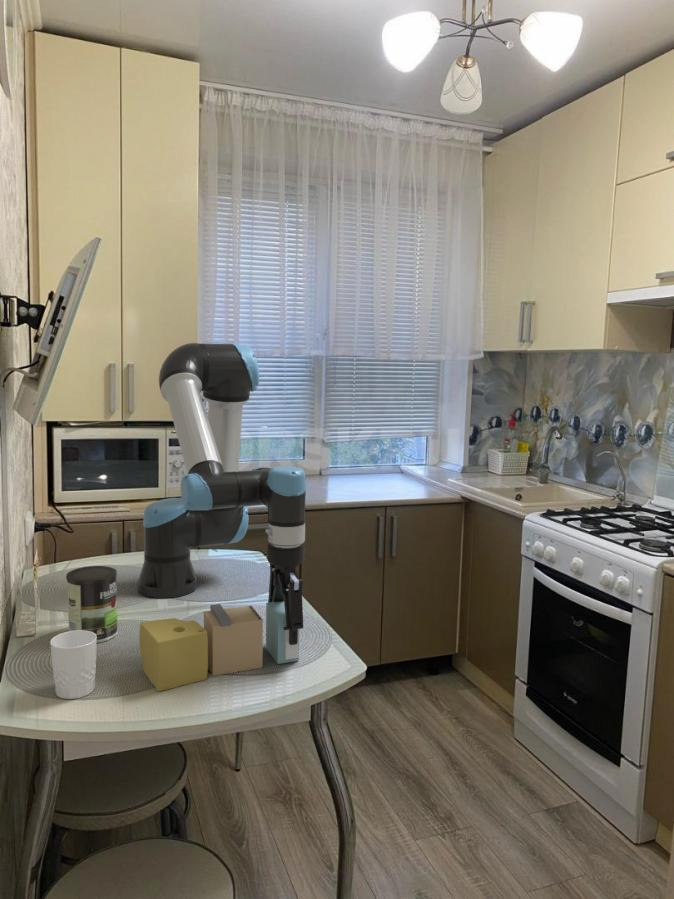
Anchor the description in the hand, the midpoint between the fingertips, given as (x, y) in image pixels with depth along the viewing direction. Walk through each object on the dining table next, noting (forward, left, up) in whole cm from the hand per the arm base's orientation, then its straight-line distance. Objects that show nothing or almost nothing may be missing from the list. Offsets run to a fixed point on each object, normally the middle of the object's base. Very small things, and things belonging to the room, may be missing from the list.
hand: (284, 648), depth 142 cm
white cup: (+1, -41, -2) cm, 41 cm away
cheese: (+1, -23, -2) cm, 23 cm away
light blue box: (0, 0, -1) cm, 1 cm away
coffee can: (-24, -36, -1) cm, 43 cm away
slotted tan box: (0, -11, -1) cm, 11 cm away
